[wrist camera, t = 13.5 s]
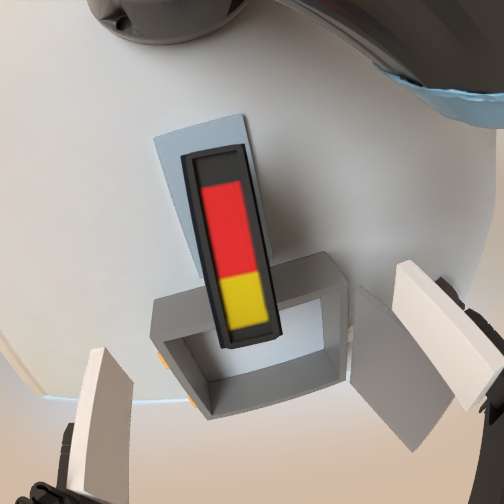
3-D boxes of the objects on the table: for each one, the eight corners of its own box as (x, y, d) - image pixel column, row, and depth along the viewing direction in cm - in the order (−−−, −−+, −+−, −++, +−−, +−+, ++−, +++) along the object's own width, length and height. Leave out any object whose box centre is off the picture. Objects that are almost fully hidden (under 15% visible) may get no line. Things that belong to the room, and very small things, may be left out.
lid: (463, 379, 15) (471, 370, 16) (354, 289, 27) (363, 284, 27) (412, 452, 24) (419, 447, 24) (349, 383, 35) (356, 378, 36)
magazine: (219, 299, 30) (221, 357, 15) (194, 174, 29) (172, 120, 14) (255, 291, 31) (287, 341, 16) (229, 167, 30) (240, 107, 15)
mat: (154, 137, 24) (153, 138, 23) (241, 113, 24) (242, 113, 23) (199, 275, 31) (200, 278, 31) (272, 254, 32) (273, 257, 31)
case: (149, 301, 31) (136, 422, 18) (359, 240, 33) (442, 325, 20) (200, 388, 40) (211, 480, 27) (357, 340, 42) (404, 418, 29)
